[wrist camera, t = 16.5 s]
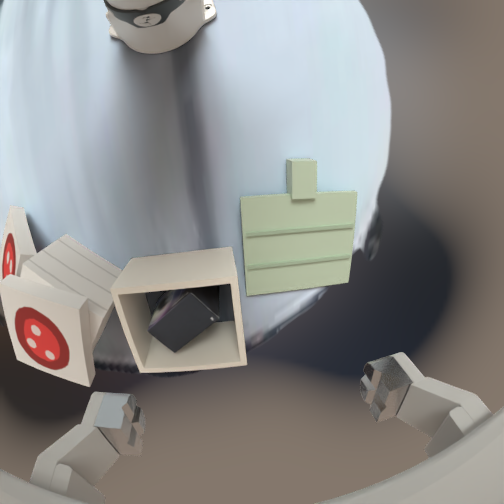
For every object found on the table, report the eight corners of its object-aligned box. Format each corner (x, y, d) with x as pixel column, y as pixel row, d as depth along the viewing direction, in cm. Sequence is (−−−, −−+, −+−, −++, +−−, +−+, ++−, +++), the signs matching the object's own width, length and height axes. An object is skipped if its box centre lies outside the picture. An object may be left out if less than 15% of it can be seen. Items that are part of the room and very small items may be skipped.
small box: (195, 262, 48) (190, 290, 38) (220, 287, 50) (222, 318, 40) (156, 298, 49) (144, 331, 40) (181, 320, 52) (175, 355, 42)
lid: (237, 161, 43) (238, 164, 39) (351, 158, 45) (361, 161, 41) (245, 288, 53) (247, 298, 50) (343, 276, 55) (350, 285, 51)
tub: (131, 258, 46) (110, 288, 35) (231, 246, 48) (237, 275, 37) (151, 332, 52) (140, 372, 40) (240, 324, 53) (247, 364, 42)
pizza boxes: (24, 192, 39) (-38, 215, 22) (143, 272, 47) (114, 330, 30) (5, 269, 43) (-42, 307, 26) (109, 340, 51) (84, 402, 34)
